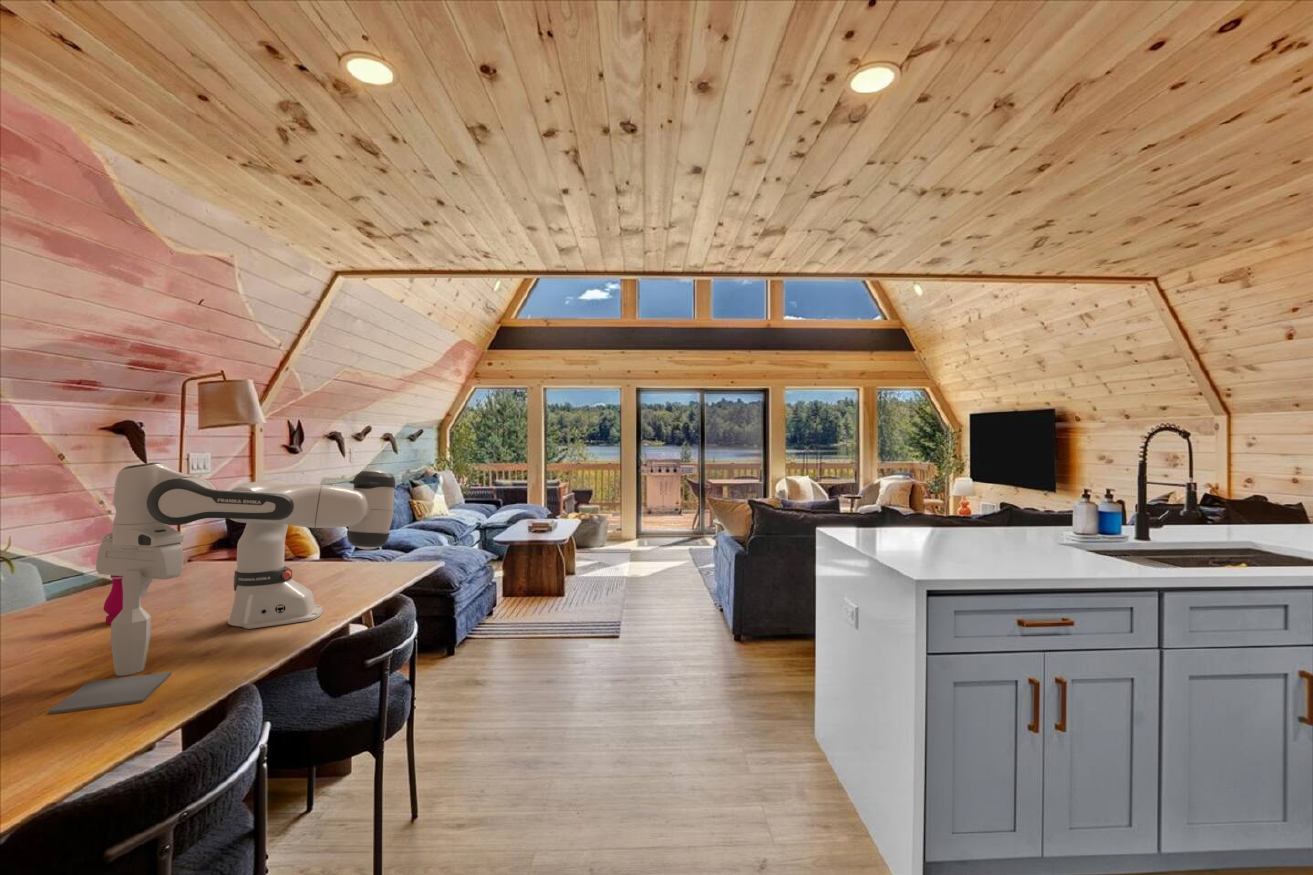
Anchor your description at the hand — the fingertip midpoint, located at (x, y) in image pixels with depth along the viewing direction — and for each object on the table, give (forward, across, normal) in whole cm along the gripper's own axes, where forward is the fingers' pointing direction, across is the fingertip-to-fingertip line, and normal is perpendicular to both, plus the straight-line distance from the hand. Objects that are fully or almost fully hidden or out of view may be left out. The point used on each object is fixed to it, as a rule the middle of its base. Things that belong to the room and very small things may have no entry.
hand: (138, 596), depth 128 cm
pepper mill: (+15, -35, +22) cm, 44 cm away
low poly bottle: (+15, +4, -4) cm, 16 cm away
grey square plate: (+15, +12, -12) cm, 23 cm away
